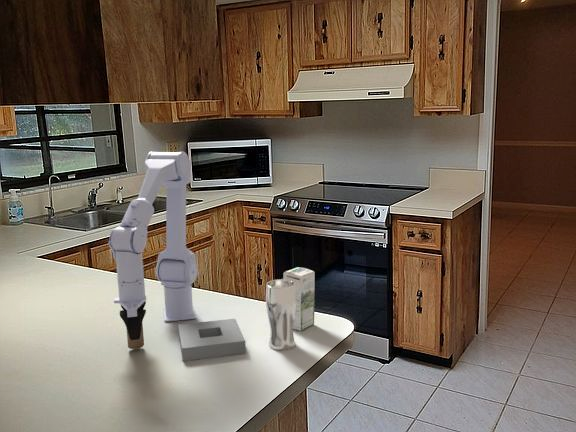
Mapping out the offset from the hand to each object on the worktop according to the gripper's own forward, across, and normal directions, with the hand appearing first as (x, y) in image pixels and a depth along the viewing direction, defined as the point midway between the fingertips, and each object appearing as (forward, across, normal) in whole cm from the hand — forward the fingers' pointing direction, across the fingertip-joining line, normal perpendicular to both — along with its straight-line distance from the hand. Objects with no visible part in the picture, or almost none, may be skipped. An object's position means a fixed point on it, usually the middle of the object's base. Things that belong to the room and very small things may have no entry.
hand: (135, 335), depth 126 cm
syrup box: (+4, -3, +40) cm, 40 cm away
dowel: (+2, 0, 0) cm, 2 cm away
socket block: (+3, +2, +17) cm, 17 cm away
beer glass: (+4, +7, +33) cm, 34 cm away
